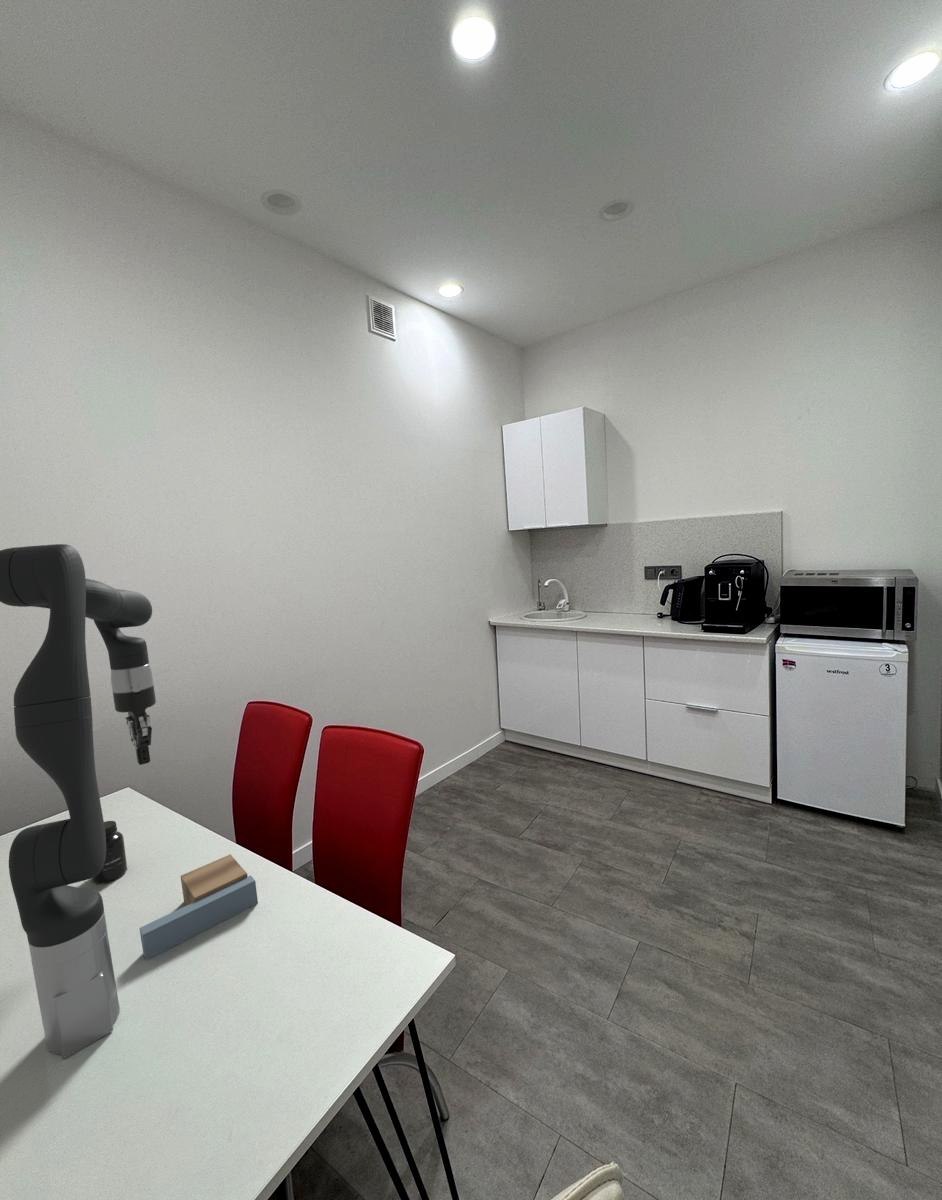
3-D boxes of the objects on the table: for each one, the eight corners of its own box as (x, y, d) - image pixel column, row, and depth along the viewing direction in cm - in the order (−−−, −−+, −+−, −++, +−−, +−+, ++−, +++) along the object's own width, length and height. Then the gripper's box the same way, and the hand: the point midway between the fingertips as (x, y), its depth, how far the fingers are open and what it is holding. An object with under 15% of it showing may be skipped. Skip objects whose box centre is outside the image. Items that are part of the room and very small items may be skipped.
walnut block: (250, 900, 109) (247, 873, 108) (198, 926, 102) (194, 897, 102) (233, 879, 116) (230, 854, 116) (184, 902, 110) (180, 875, 109)
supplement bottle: (114, 884, 117) (106, 833, 116) (84, 885, 117) (76, 835, 116) (134, 865, 124) (127, 817, 123) (106, 866, 124) (98, 818, 123)
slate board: (257, 903, 108) (255, 880, 107) (146, 960, 94) (142, 934, 94) (253, 897, 110) (250, 875, 109) (143, 953, 96) (139, 927, 96)
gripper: (107, 685, 116) (118, 760, 118) (118, 696, 106) (130, 777, 108) (146, 677, 121) (156, 750, 123) (160, 687, 111) (171, 765, 113)
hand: (144, 762), depth 115 cm, fingers closed
